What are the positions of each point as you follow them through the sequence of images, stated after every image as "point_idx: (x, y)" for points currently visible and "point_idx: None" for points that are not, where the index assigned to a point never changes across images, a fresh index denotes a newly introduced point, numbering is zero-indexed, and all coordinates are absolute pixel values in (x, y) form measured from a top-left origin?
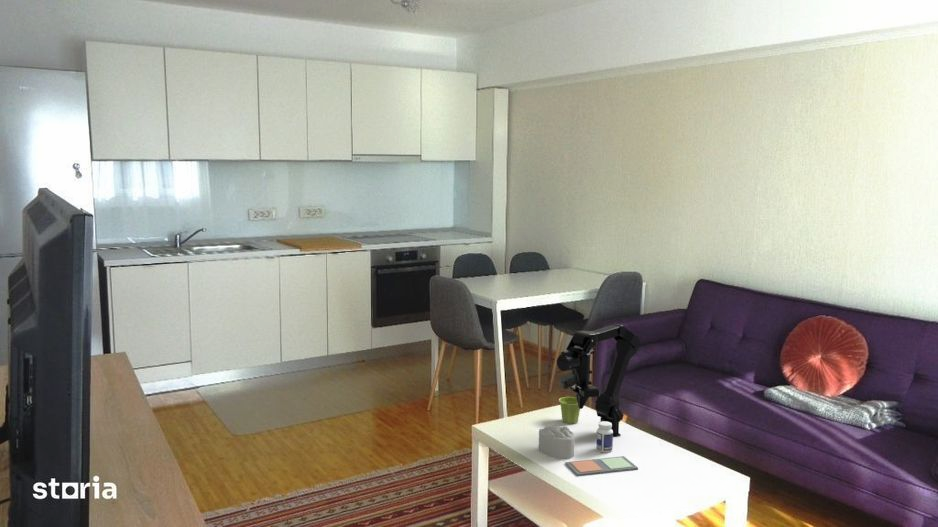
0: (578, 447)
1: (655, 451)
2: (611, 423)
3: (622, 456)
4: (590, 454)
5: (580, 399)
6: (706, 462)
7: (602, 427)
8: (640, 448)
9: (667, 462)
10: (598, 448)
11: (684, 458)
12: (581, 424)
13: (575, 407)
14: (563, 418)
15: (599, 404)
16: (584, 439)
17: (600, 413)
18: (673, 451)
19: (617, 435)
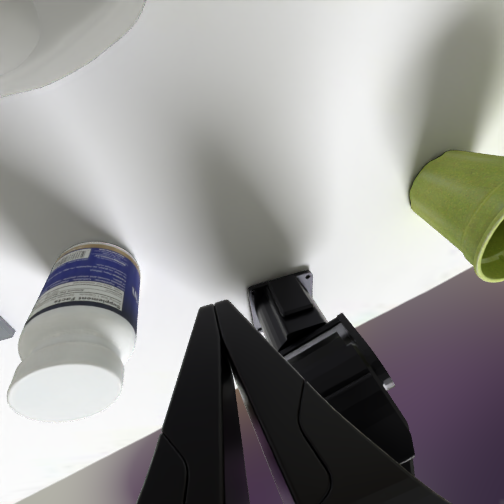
0: (117, 153)
1: (119, 402)
2: (74, 420)
3: (5, 333)
4: (10, 200)
5: (152, 492)
6: (55, 479)
7: (16, 370)
8: (141, 372)
9: (19, 429)
10: (66, 254)
11: (73, 450)
12: (392, 222)
13: (468, 235)
14: (458, 155)
15: (335, 393)
16: (235, 206)
17: (316, 344)
18: (127, 430)
19: (253, 323)
